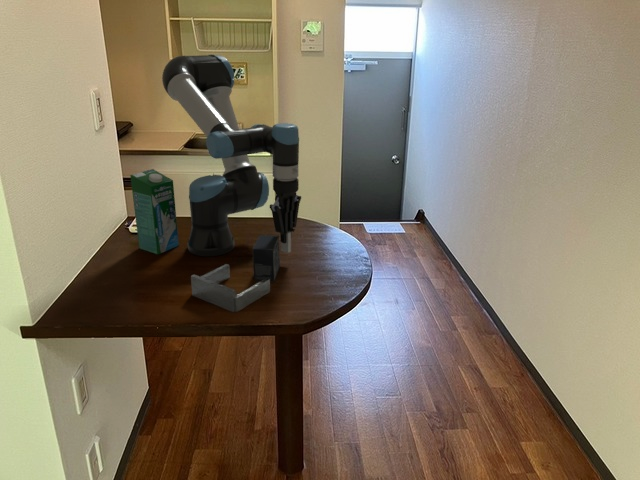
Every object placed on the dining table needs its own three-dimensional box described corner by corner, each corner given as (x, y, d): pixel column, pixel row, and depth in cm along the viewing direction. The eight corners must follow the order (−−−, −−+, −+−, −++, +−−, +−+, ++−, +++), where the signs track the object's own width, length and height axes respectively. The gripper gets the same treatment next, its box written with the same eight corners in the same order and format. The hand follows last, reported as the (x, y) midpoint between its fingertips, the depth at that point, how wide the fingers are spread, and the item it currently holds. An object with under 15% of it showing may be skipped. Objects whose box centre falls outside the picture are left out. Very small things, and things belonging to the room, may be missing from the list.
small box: (259, 265, 163) (258, 234, 159) (280, 266, 163) (280, 235, 159) (252, 280, 154) (251, 247, 149) (274, 282, 153) (274, 249, 149)
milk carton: (158, 254, 169) (150, 179, 159) (138, 248, 173) (129, 174, 164) (179, 245, 176) (172, 172, 166) (160, 239, 180) (152, 168, 171)
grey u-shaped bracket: (190, 294, 145) (189, 275, 143) (226, 276, 156) (225, 257, 153) (235, 313, 136) (234, 292, 134) (270, 291, 147) (269, 272, 145)
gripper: (282, 185, 148) (282, 261, 157) (308, 175, 158) (307, 247, 167) (261, 180, 152) (263, 255, 161) (288, 170, 162) (288, 241, 171)
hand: (286, 251), depth 164 cm, fingers closed
